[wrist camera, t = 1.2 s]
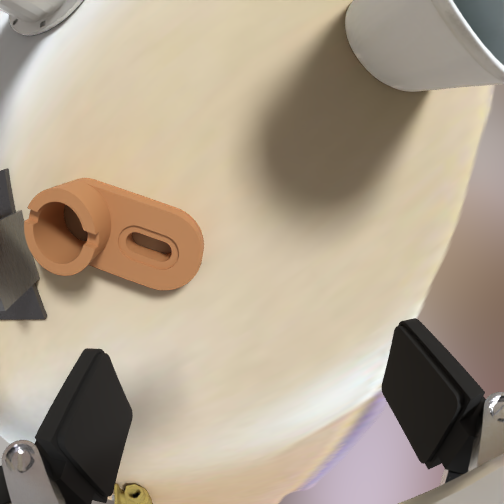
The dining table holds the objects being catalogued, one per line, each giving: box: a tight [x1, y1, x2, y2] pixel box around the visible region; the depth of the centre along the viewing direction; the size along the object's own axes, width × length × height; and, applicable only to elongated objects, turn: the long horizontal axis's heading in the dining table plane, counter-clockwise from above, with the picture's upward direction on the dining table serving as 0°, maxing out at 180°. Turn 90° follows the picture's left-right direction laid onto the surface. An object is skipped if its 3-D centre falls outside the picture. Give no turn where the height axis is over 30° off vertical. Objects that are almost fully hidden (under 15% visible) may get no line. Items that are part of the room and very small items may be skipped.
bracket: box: [24, 178, 204, 290], centre depth 27 cm, size 18×8×7 cm, turn 68°
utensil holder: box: [345, 0, 504, 92], centre depth 17 cm, size 15×15×18 cm
